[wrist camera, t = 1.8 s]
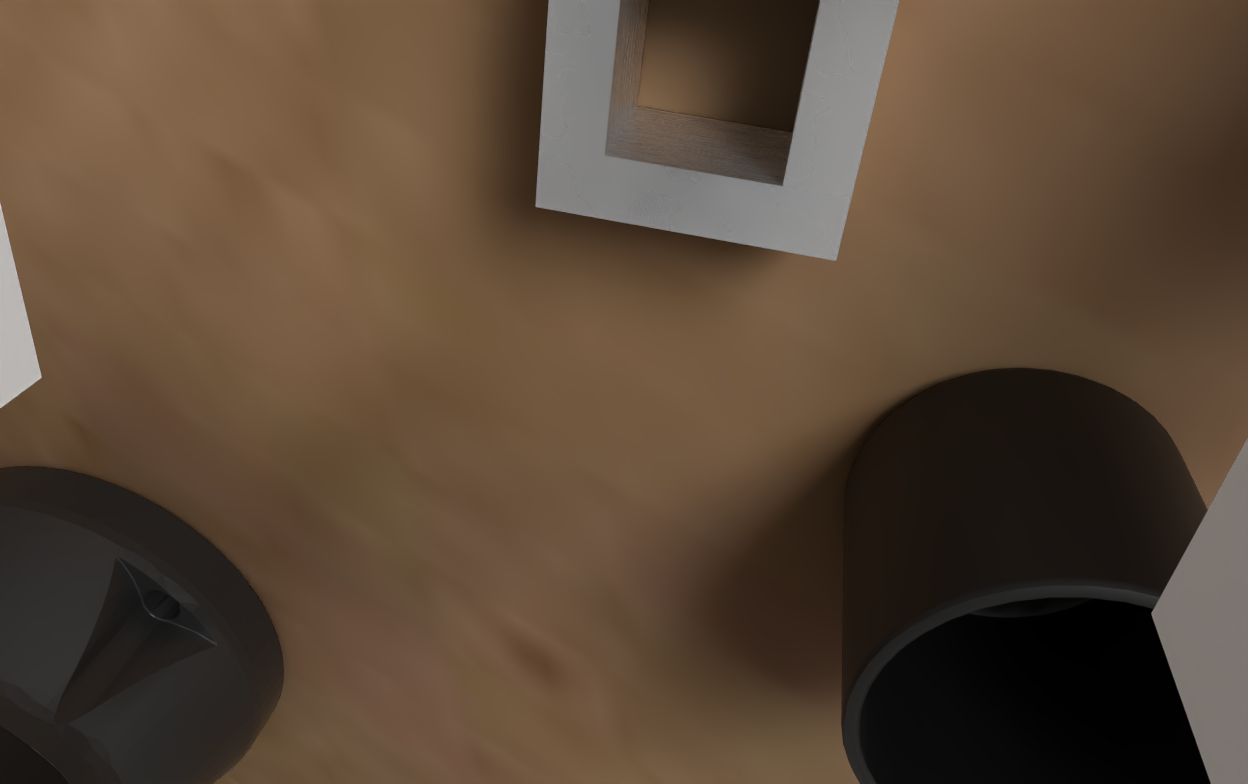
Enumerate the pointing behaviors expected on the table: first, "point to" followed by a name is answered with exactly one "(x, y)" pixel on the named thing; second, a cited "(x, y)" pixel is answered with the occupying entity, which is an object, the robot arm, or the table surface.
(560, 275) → the table surface
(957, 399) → the mug
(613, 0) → the square frame
